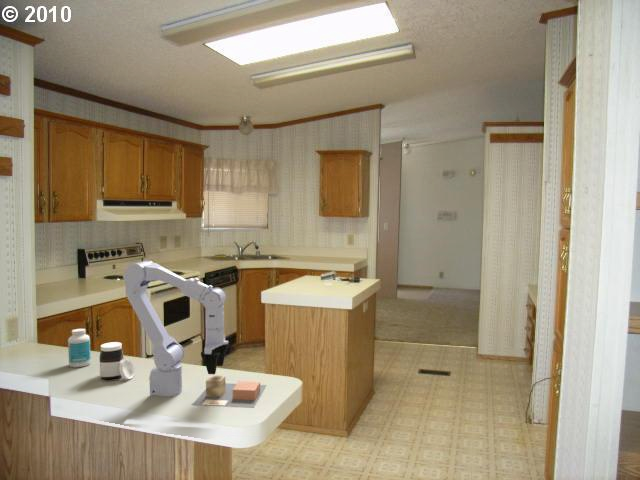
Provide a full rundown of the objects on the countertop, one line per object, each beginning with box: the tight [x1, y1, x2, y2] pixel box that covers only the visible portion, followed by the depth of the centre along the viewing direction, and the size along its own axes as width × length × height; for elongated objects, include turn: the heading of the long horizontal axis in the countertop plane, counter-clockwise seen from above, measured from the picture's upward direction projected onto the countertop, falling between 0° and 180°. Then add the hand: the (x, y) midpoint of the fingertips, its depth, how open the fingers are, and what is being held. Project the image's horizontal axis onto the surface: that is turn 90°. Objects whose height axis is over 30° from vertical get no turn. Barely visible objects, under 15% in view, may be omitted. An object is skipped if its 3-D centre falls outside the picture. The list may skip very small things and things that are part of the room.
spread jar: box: [99, 341, 135, 382], centre depth 170 cm, size 12×11×12 cm
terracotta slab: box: [233, 380, 261, 400], centre depth 152 cm, size 7×7×3 cm
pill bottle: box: [67, 328, 92, 368], centre depth 183 cm, size 8×7×14 cm
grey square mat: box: [191, 382, 268, 409], centre depth 153 cm, size 19×18×1 cm
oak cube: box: [205, 374, 226, 397], centre depth 153 cm, size 5×5×5 cm
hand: (215, 369), depth 153 cm, fingers open, 7 cm apart
